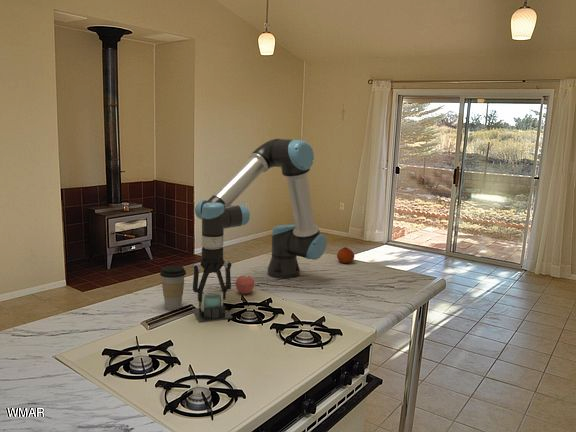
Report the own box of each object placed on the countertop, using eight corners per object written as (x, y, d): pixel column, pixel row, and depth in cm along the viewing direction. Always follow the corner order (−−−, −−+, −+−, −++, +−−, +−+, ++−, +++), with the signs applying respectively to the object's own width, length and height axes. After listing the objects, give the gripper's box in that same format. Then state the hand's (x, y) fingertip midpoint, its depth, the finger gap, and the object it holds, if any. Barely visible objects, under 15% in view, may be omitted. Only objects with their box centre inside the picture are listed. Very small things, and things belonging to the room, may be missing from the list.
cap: (201, 307, 174) (202, 293, 173) (217, 306, 176) (218, 292, 176) (205, 313, 169) (205, 299, 168) (221, 312, 171) (222, 297, 170)
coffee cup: (163, 313, 172) (163, 273, 169) (157, 304, 180) (157, 266, 178) (189, 309, 177) (189, 270, 174) (182, 301, 185) (182, 263, 182)
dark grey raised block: (192, 310, 176) (192, 299, 175) (223, 306, 181) (224, 296, 180) (198, 322, 165) (198, 311, 165) (232, 318, 170) (232, 307, 169)
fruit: (349, 266, 240) (350, 250, 239) (333, 262, 245) (334, 247, 244) (357, 262, 248) (358, 247, 246) (341, 259, 252) (342, 244, 251)
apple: (257, 293, 196) (258, 274, 195) (244, 297, 191) (244, 278, 190) (245, 288, 201) (245, 270, 200) (232, 292, 196) (232, 274, 195)
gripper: (187, 251, 161) (187, 315, 166) (241, 247, 169) (240, 310, 173) (183, 245, 168) (183, 308, 172) (235, 242, 175) (234, 302, 180)
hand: (211, 308), depth 173 cm, fingers closed on cap, 6 cm apart
